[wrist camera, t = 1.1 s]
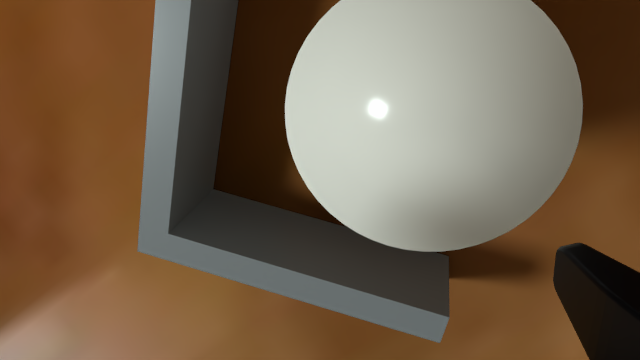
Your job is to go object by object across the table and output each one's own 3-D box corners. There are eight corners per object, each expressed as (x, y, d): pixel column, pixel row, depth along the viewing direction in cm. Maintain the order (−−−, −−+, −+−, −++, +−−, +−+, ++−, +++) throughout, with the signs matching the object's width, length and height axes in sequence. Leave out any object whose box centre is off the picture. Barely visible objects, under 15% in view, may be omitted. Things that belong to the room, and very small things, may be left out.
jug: (492, 163, 22) (519, 283, 14) (330, 120, 23) (264, 210, 14) (591, -114, 18) (715, -176, 10) (389, -154, 19) (346, -243, 10)
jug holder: (612, -210, 17) (666, -265, 13) (440, 278, 24) (439, 343, 20) (240, -277, 18) (181, -345, 14) (186, 205, 26) (137, 251, 22)
